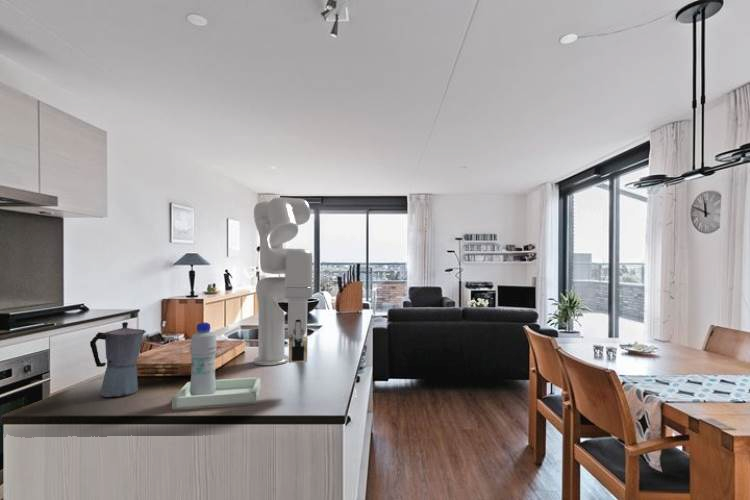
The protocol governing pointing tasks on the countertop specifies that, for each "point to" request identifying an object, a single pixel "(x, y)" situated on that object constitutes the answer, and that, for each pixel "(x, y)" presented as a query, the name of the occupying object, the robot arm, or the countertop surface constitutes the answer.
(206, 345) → the bottle
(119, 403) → the countertop surface
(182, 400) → the tray
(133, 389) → the moka pot
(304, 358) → the block
